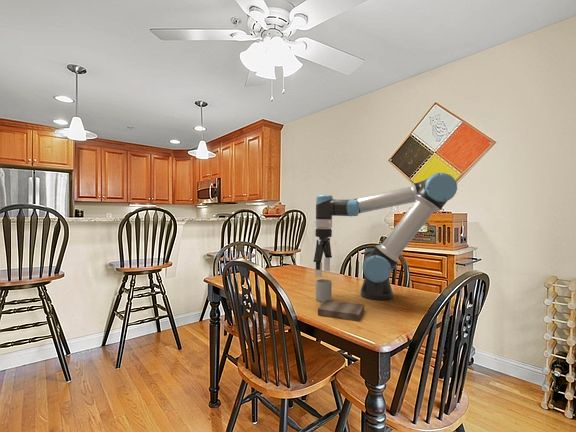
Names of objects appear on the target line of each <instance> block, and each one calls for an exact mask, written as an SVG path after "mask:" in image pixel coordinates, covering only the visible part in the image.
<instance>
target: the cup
mask: <svg viewBox="0 0 576 432" xmlns="http://www.w3.org/2000/svg"><path fill="white" fill-rule="evenodd" d="M332 282H333V281H332V280H331V279H326V278H325V279H324V278H322V279H319V278H318V279H316V280H315V301H317V302H319V303H324V302H325V301H326V300H331V301H332V296H333V295H332V293H333V292H332V287H333V286H332V284H333V283H332Z"/></svg>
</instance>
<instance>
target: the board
mask: <svg viewBox="0 0 576 432" xmlns="http://www.w3.org/2000/svg"><path fill="white" fill-rule="evenodd" d="M364 312H365V304H363V303H354V302H348V301H339V300H337V301H336V300H332V299H331V300H326V301H325V302H322V304H321V305H320V306H319V307H318V308H317V316H322V317H328V318H336V319H341V320H348V321H349V320H350V321H355V322H359V321H360V320H361V318H362V316H363V314H364Z"/></svg>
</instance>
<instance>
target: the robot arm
mask: <svg viewBox="0 0 576 432" xmlns="http://www.w3.org/2000/svg"><path fill="white" fill-rule="evenodd" d="M457 190H458V183H457V181H456V179H455V178H454V177H453V175H450V174H448V173H445V172H437V173H433V174H431V175H430V176H429V177H428V178H426V179H424V180H421V181H418V182H415V183H412V184H411V185H410V186H407V187H403V188H398V189H393V190H389V191H383V192H380V193H375V194H370V195H366V196H363V197H361V196H360V197H357V198H353V199H352V198H351V199H334V197H333V195H331V194H318V195H317V196H316V199H315V200H316V202H315V221H314V223H315V228H316V229H315V237H317V238H318V239H316V245H315V250H314V251H315V252H314V255H313V256H314V257H313V263H315V277H316V278H317V277H318V278H322V277H323V273H322V272H323V271H324V272H331V271H330V270H331V259H332V258H333V255H332V249H331V248H332V247H331V237H332V236H333V229H332V228H333V217H334V216H335V217H336V216H337V217H338V216H339V217H358V216H359V214H363V213H368V212H372V211H378V210H383V209H388V208H392V207H397V206H403V205H407V204H411V206H410V207H409V208H408V210H406V212H405V214H404V215H403V216H402V217H401V219H400V220H399V221H398V222H397V224H396V225H395V227H394V228H393V229H392V231H390V233H389V234H388V236H387V237H386V238H385V239H384V240H383V241H382V243H381V244H376V245H375V246H374V248H365V249H364V252H363V255H364V261H363V263H362V266H361V267H362V272H363V275H364V279H363V282H362V285H361V287H360V296H361V297H363V298H365V299H369V300H373V301H374V300H377V301H388V300H390V299H393V297H394V292H393V291H394V290H393V289H392V286H391V282H390V277H391V274H392V271H393V270H394V269H395V267H396V266H397V265H398V264H399V256H400V255H401V254H402V253H403V252H404V250H405V249H406V248H407V246H408V245H409V244H410V243H411V241H412V240H413V239H414V237H415V236H416V235H417V234H418V233H419V231H421V229H422V227H423V226H424V225H425V224H426V222H427V221H428V220H429V218H431V216H432V215H433V214H434V213H435V212H440V211H441V209H443V207H444V206H445V205H446V204H447V202H448V201H450V200H451V199H453V198H454V197H455V195H456V194H457ZM323 255H324V259H323ZM322 260H324V261H323V262H322ZM322 269H323V271H322Z"/></svg>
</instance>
